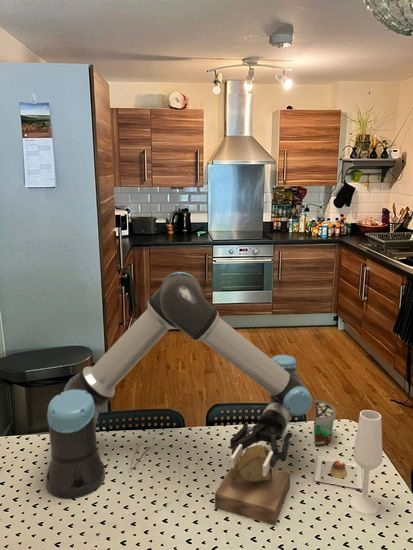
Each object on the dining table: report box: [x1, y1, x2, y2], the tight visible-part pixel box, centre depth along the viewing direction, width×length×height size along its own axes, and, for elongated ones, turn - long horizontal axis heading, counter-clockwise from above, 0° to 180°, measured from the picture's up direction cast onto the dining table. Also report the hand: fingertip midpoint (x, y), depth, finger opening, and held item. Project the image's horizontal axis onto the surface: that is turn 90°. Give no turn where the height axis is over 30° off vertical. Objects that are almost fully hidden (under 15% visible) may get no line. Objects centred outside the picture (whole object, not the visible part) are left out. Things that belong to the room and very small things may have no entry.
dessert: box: [313, 454, 363, 490], centre depth 125 cm, size 12×12×5 cm
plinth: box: [214, 460, 291, 526], centre depth 116 cm, size 15×15×4 cm
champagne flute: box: [349, 409, 384, 515], centre depth 111 cm, size 7×7×24 cm
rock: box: [230, 444, 273, 483], centre depth 115 cm, size 11×9×10 cm
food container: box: [313, 399, 337, 447], centre depth 141 cm, size 12×6×10 cm, turn 168°
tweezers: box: [126, 443, 152, 476], centre depth 132 cm, size 17×5×2 cm, turn 169°
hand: (247, 467), depth 110 cm, fingers closed on rock, 7 cm apart
